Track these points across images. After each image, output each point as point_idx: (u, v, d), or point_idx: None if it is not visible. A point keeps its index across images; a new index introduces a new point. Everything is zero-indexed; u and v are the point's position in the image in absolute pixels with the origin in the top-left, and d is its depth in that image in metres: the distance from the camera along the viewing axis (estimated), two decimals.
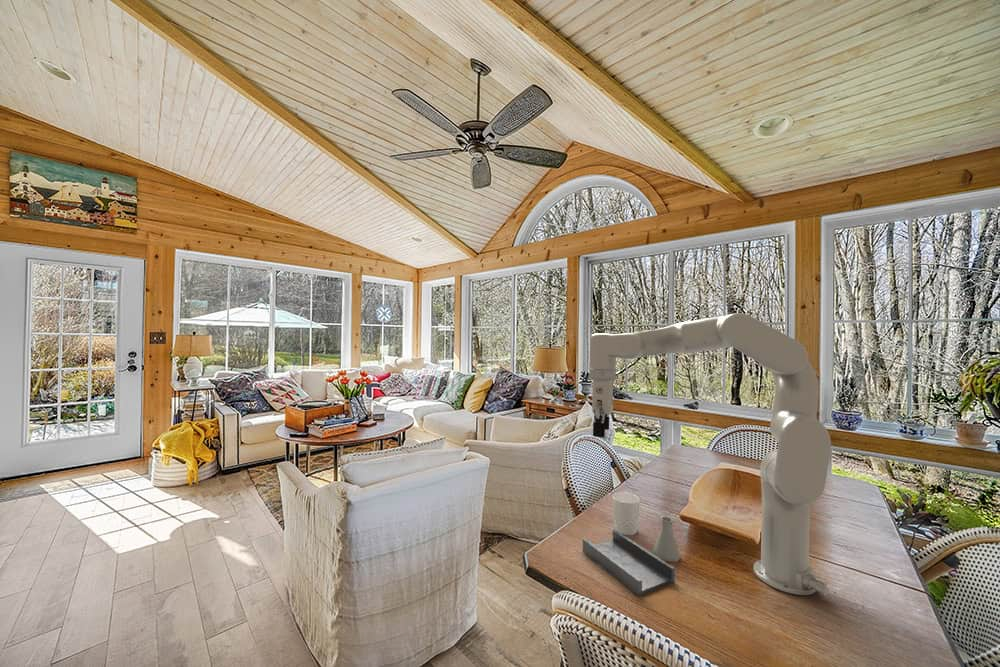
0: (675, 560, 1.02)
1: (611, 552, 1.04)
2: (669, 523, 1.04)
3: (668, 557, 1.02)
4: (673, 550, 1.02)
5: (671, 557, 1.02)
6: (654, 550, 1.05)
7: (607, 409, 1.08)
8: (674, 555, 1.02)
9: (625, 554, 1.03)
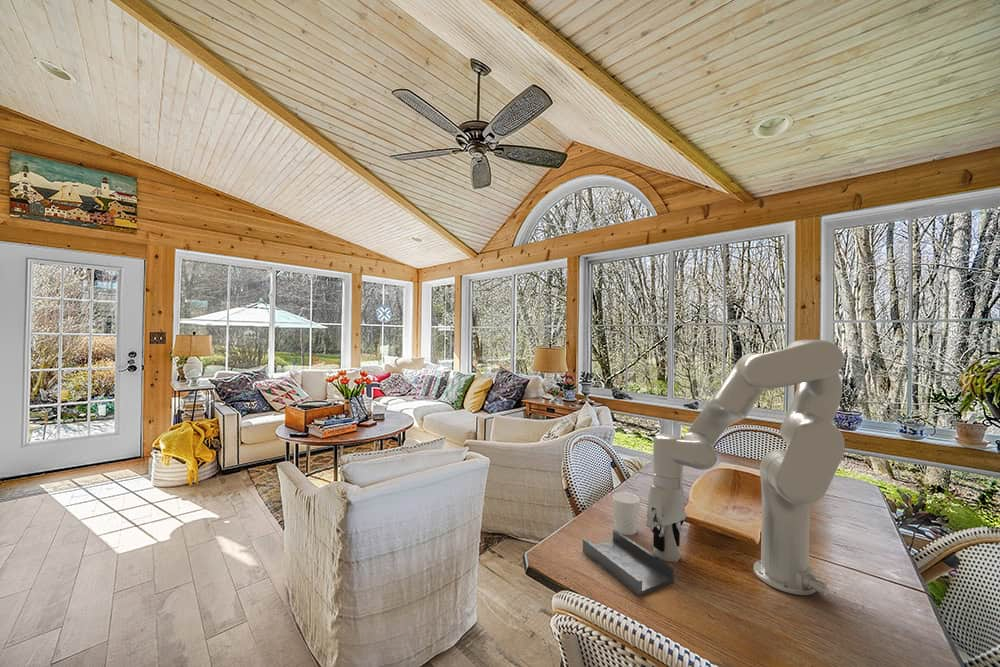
0: (675, 560, 1.02)
1: (611, 552, 1.04)
2: None
3: (668, 557, 1.02)
4: (673, 550, 1.02)
5: (671, 557, 1.02)
6: (654, 550, 1.05)
7: None
8: (674, 554, 1.02)
9: (625, 554, 1.03)
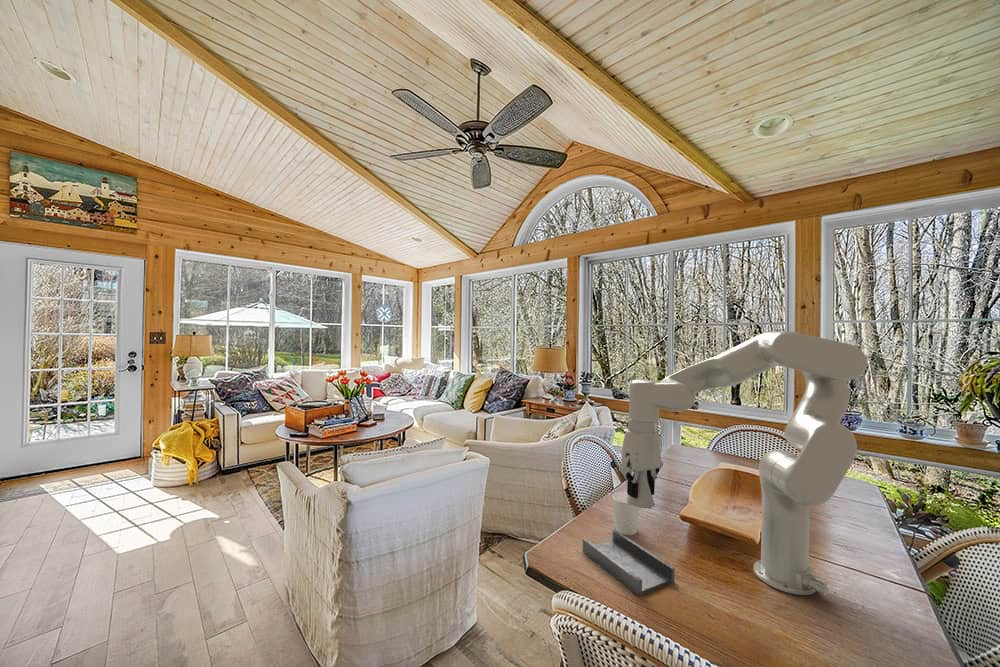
0: (648, 507, 0.98)
1: (611, 552, 1.04)
2: None
3: (641, 503, 0.99)
4: (647, 497, 0.99)
5: (644, 504, 0.99)
6: (628, 498, 1.02)
7: None
8: (648, 501, 0.99)
9: (625, 554, 1.03)
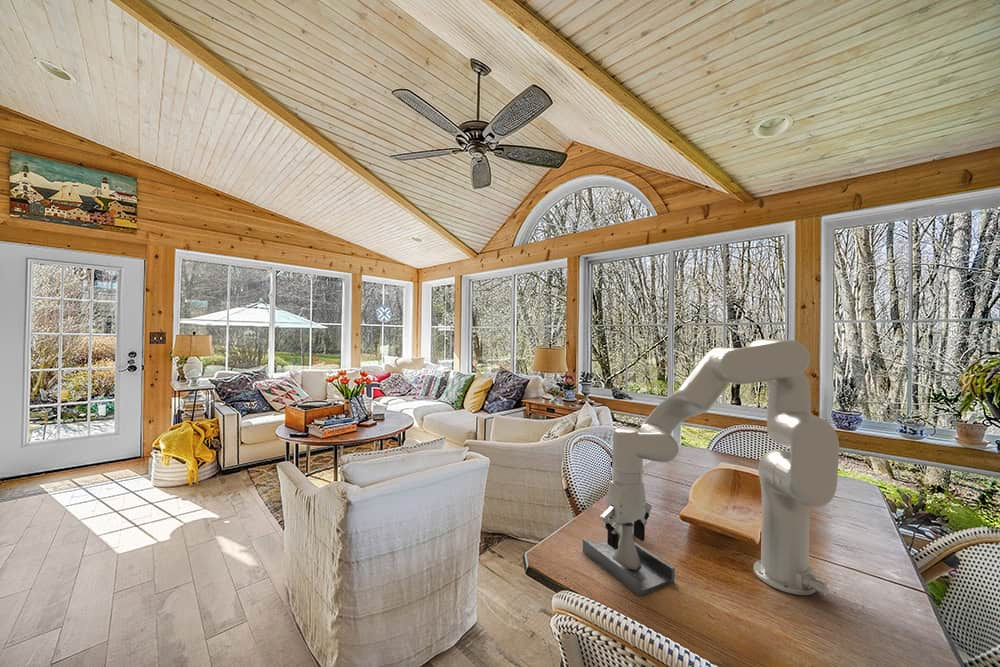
0: (634, 567, 0.96)
1: (611, 552, 1.04)
2: (629, 528, 0.98)
3: (627, 564, 0.97)
4: (632, 557, 0.97)
5: (630, 564, 0.97)
6: (614, 557, 1.00)
7: None
8: (634, 562, 0.97)
9: None
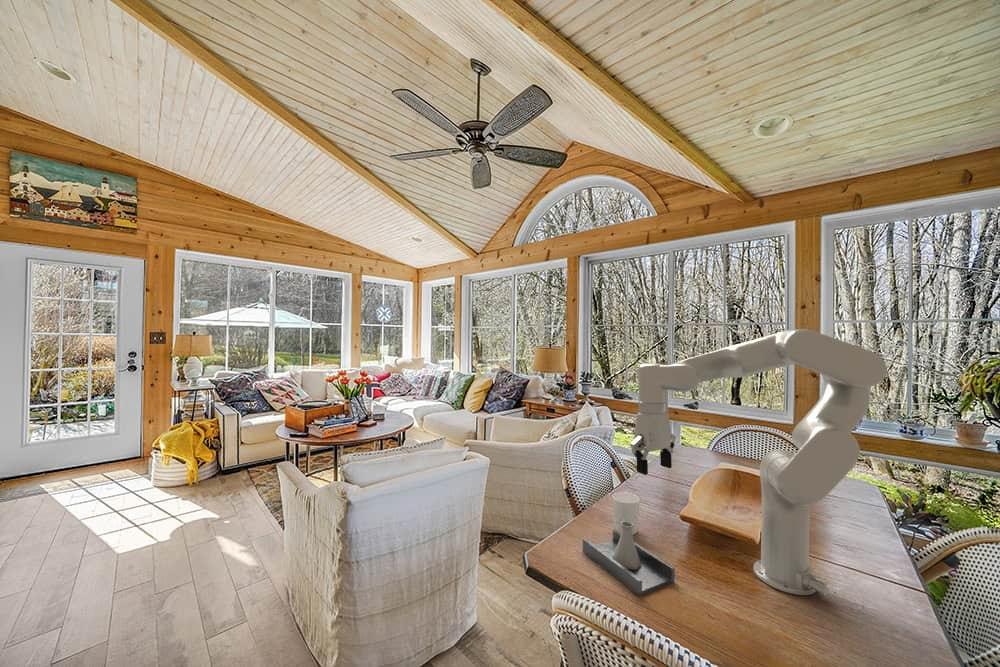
0: (634, 567, 0.96)
1: (611, 552, 1.04)
2: (629, 528, 0.98)
3: (627, 564, 0.97)
4: (632, 557, 0.97)
5: (630, 564, 0.97)
6: (614, 557, 1.00)
7: None
8: (634, 562, 0.97)
9: None
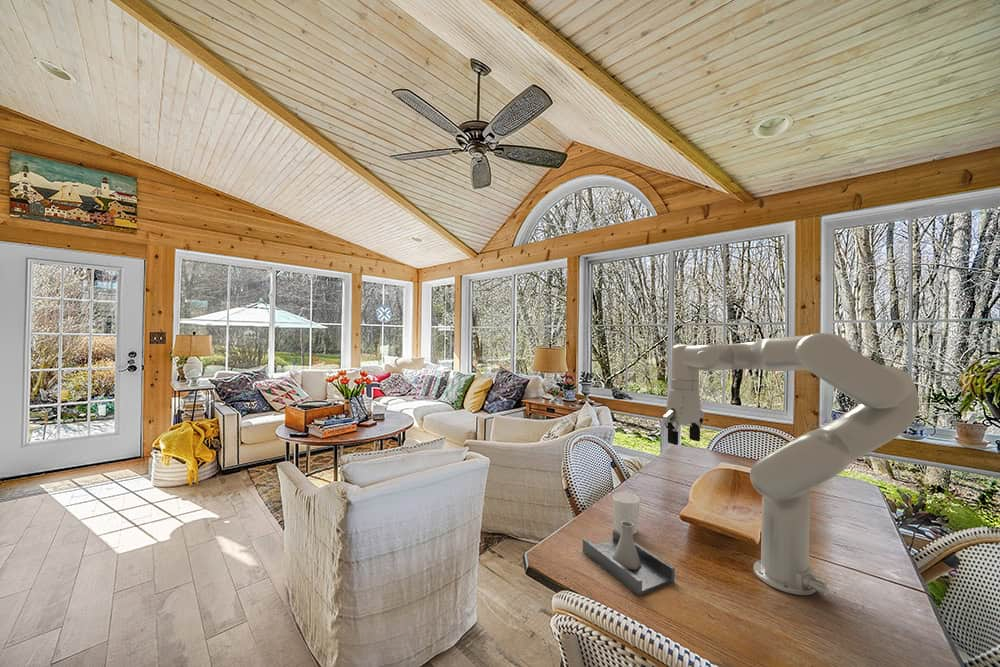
0: (634, 567, 0.96)
1: (611, 552, 1.04)
2: (629, 528, 0.98)
3: (627, 564, 0.97)
4: (632, 557, 0.97)
5: (630, 564, 0.97)
6: (614, 557, 1.00)
7: None
8: (634, 562, 0.97)
9: None
